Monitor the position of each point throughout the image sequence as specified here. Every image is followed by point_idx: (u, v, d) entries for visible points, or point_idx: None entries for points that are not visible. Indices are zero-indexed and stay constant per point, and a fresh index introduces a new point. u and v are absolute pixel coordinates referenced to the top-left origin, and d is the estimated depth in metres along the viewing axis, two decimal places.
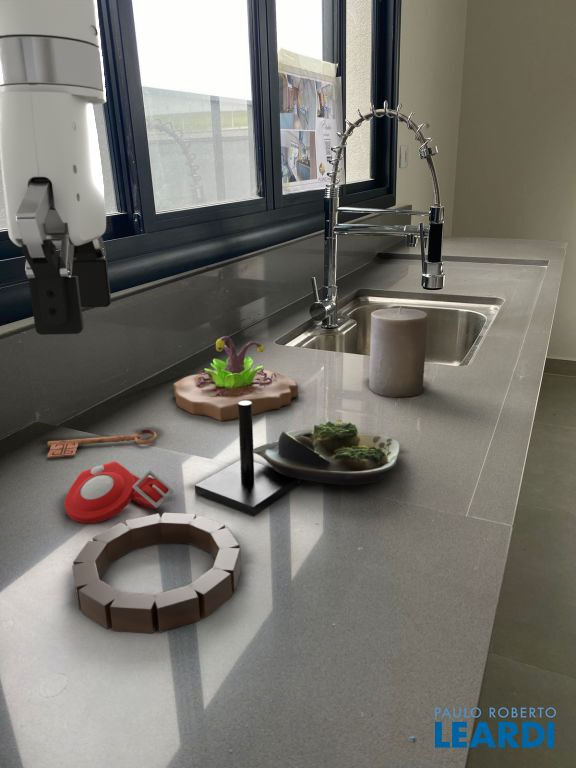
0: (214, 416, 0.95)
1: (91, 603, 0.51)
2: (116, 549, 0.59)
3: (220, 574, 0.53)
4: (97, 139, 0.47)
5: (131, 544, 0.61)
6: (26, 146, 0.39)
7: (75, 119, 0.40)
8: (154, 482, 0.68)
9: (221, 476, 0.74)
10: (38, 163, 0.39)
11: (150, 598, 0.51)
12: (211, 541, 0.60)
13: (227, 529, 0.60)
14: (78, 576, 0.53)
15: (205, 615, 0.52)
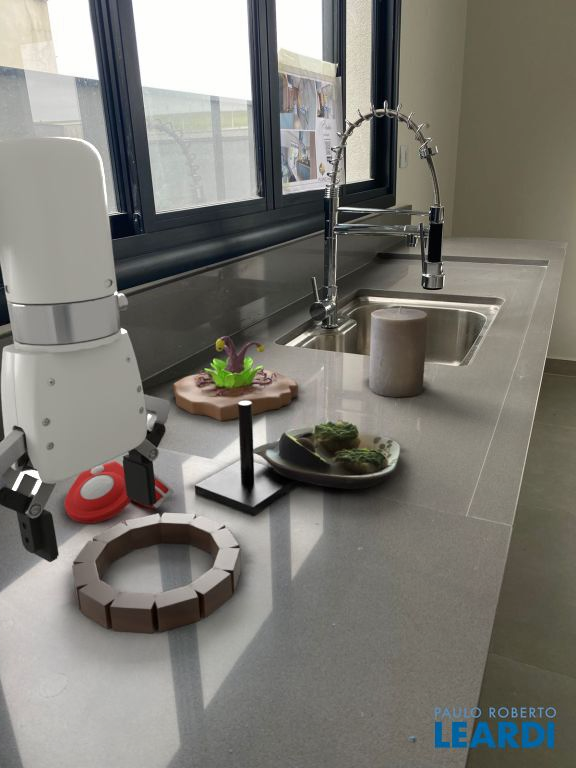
0: (214, 416, 0.95)
1: (91, 603, 0.51)
2: (116, 549, 0.59)
3: (220, 574, 0.53)
4: (129, 363, 0.47)
5: (131, 544, 0.61)
6: (10, 399, 0.42)
7: (55, 374, 0.41)
8: None
9: (221, 476, 0.74)
10: (17, 415, 0.42)
11: (150, 598, 0.51)
12: (211, 541, 0.60)
13: (227, 529, 0.60)
14: (78, 576, 0.53)
15: (205, 615, 0.52)
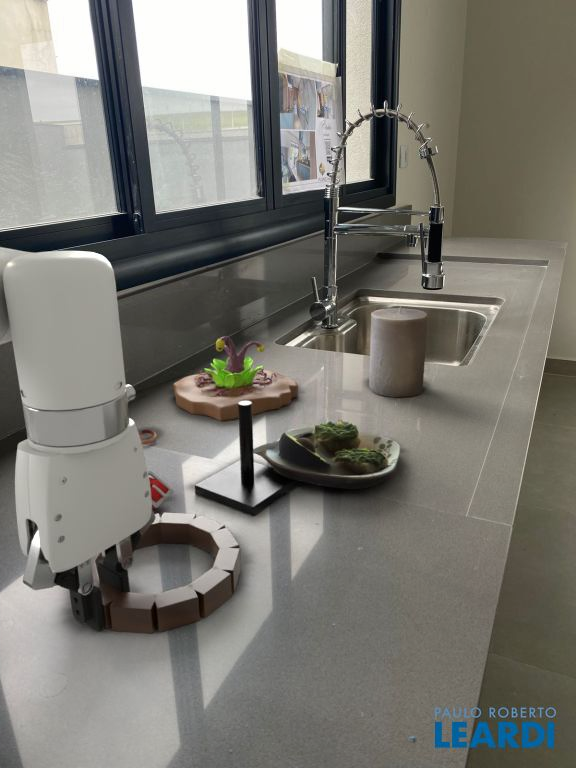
0: (214, 416, 0.95)
1: None
2: None
3: (220, 574, 0.53)
4: (136, 452, 0.49)
5: None
6: (24, 494, 0.44)
7: (67, 473, 0.44)
8: (154, 482, 0.68)
9: (221, 476, 0.74)
10: (30, 510, 0.44)
11: (150, 598, 0.51)
12: (211, 541, 0.60)
13: (227, 529, 0.60)
14: None
15: (205, 615, 0.52)
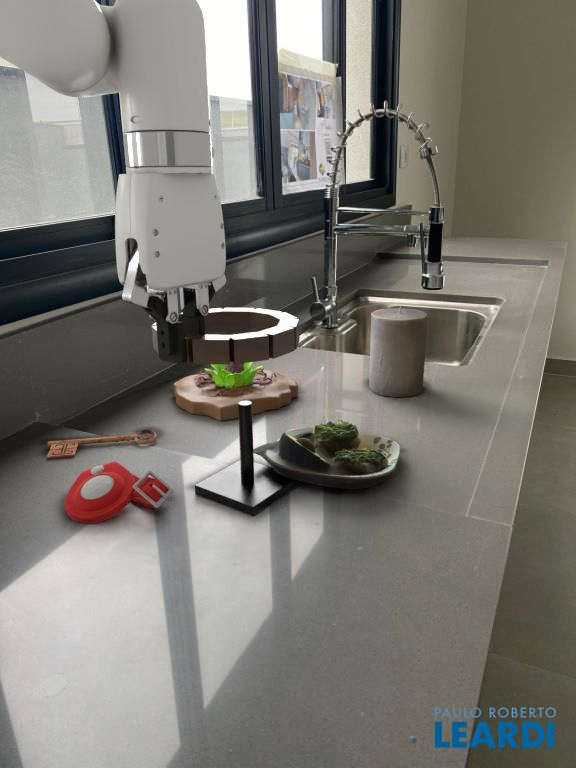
0: (214, 416, 0.95)
1: None
2: None
3: (285, 328, 0.60)
4: (216, 200, 0.56)
5: None
6: (125, 214, 0.51)
7: (164, 193, 0.51)
8: (154, 482, 0.68)
9: (221, 476, 0.74)
10: (130, 228, 0.51)
11: (226, 336, 0.57)
12: (271, 321, 0.66)
13: (285, 313, 0.67)
14: None
15: (273, 356, 0.58)
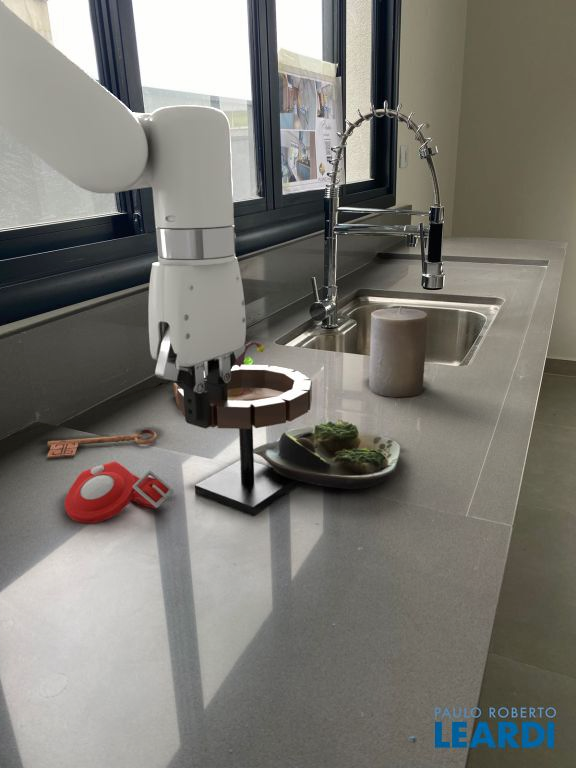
0: None
1: None
2: None
3: (299, 392, 0.66)
4: (238, 281, 0.61)
5: None
6: (158, 301, 0.57)
7: (193, 282, 0.56)
8: (154, 482, 0.68)
9: (221, 476, 0.74)
10: (163, 312, 0.57)
11: (247, 402, 0.63)
12: (285, 380, 0.72)
13: (298, 371, 0.73)
14: None
15: (290, 419, 0.64)
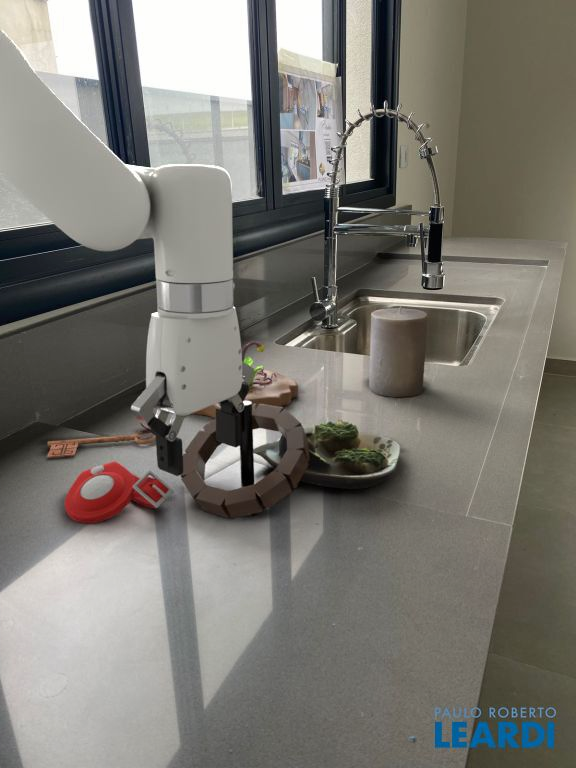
0: (214, 416, 0.95)
1: (209, 505, 0.67)
2: (206, 452, 0.74)
3: (295, 454, 0.68)
4: (235, 331, 0.62)
5: (215, 443, 0.75)
6: (156, 351, 0.58)
7: (191, 334, 0.57)
8: (154, 482, 0.68)
9: (221, 476, 0.74)
10: (161, 363, 0.58)
11: (251, 489, 0.66)
12: (277, 424, 0.73)
13: (286, 411, 0.73)
14: (190, 487, 0.69)
15: (294, 486, 0.67)
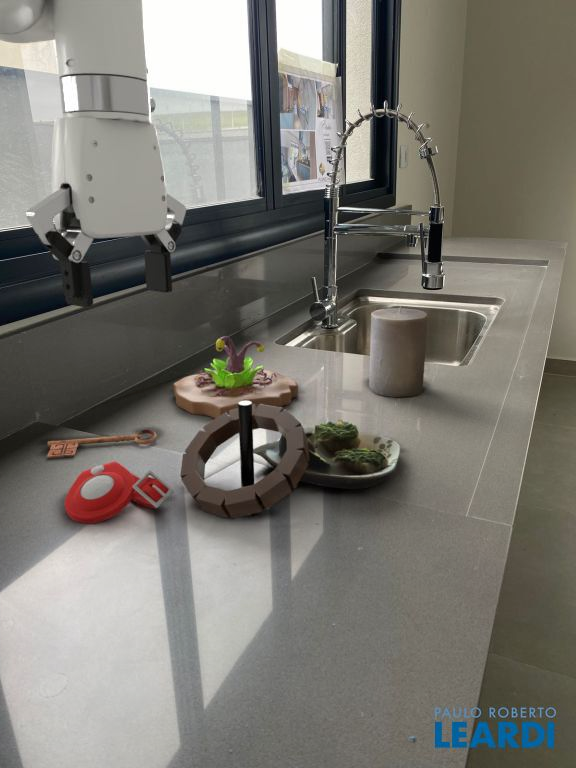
0: (214, 416, 0.95)
1: (209, 505, 0.66)
2: (205, 452, 0.74)
3: (295, 454, 0.68)
4: (155, 152, 0.56)
5: (215, 444, 0.75)
6: (60, 159, 0.51)
7: (98, 138, 0.51)
8: (154, 482, 0.68)
9: (221, 476, 0.74)
10: (65, 172, 0.51)
11: (251, 489, 0.66)
12: (276, 424, 0.73)
13: (286, 411, 0.73)
14: (189, 487, 0.69)
15: (294, 486, 0.67)
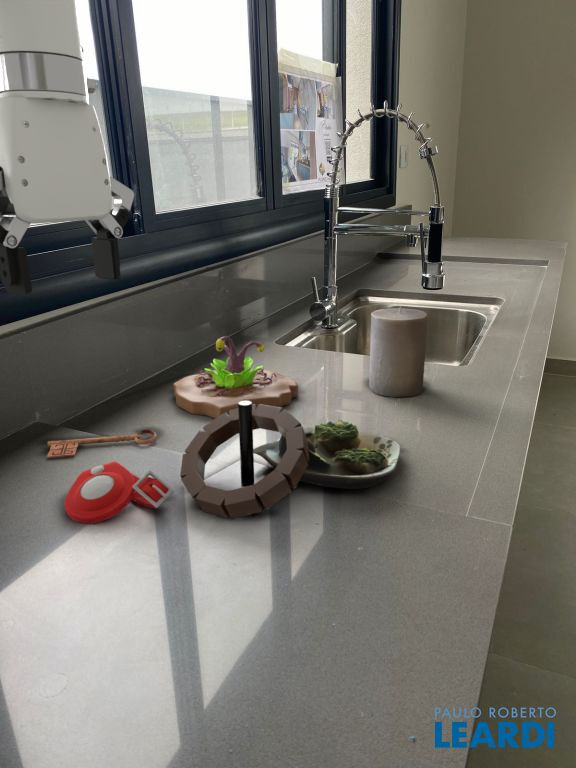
0: (214, 416, 0.95)
1: (209, 505, 0.66)
2: (205, 452, 0.74)
3: (295, 454, 0.68)
4: (95, 133, 0.54)
5: (214, 444, 0.75)
6: None
7: (29, 118, 0.49)
8: (154, 482, 0.68)
9: (221, 476, 0.74)
10: None
11: (251, 489, 0.66)
12: (276, 424, 0.73)
13: (285, 411, 0.73)
14: (189, 487, 0.69)
15: (294, 486, 0.67)
